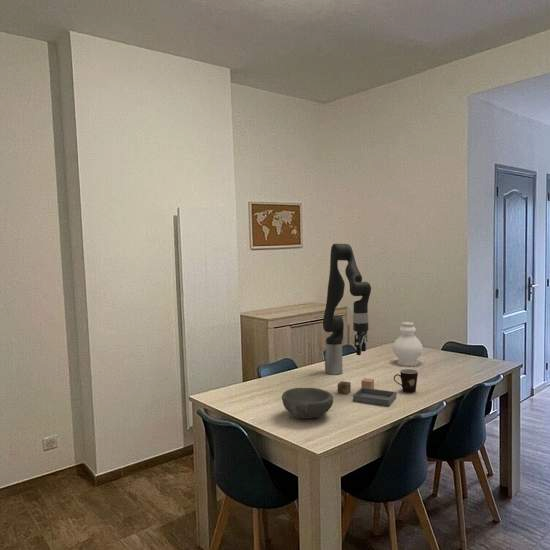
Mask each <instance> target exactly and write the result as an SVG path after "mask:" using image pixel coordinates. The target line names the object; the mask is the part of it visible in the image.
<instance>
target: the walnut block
mask: <svg viewBox="0 0 550 550" xmlns="http://www.w3.org/2000/svg"><path fill="white" fill-rule="evenodd" d="M351 388H352V387H351V382H349V381H339V382H338V383H337V394H338V395H346V396H347V395H349V394H350V393H351Z"/></svg>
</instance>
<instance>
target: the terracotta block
mask: <svg viewBox="0 0 550 550" xmlns="http://www.w3.org/2000/svg"><path fill="white" fill-rule="evenodd" d="M360 384H361V388H370V389H375V379H373V378H367V377H364V378H363V379H362V380H361V383H360ZM361 388H360V389H361Z"/></svg>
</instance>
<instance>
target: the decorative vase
mask: <svg viewBox="0 0 550 550" xmlns="http://www.w3.org/2000/svg"><path fill="white" fill-rule="evenodd" d="M401 325H402V326H400V328H399V331H400V333H401V335H399V336H398V337H397V338H396V340H395V341H394V343H393V345H392V351H393V353H394V354H395V356H396V357H397V358H398V359H399V360H398V361H397V362H396V363H397V364H398V365H400V366H406V367H413V366H417V365H419V362H418V361H417V360H418V359H419V358H420V357H421V356H422V355H423V351H424V348H423V344H422V342H421V341H420V339H419V338H418V337H417V336H416V335H414V333H415V332H416V331H417V330H416V327H415V326H414V325H415V323H414V322H413V321H402V322H401Z"/></svg>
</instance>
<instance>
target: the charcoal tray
mask: <svg viewBox="0 0 550 550" xmlns="http://www.w3.org/2000/svg"><path fill="white" fill-rule="evenodd" d="M396 399H397V392H396V391H392V390H384V389H376V388H374V389H370V388H360V389H358V390H357V391H356V392H355V393H354V394H352V402H355V403H362V404H367V405H368V404H370V405H375V406H381V407H382V406H383V407H390V406H391V405H392V404H393V402H394V401H395V400H396Z"/></svg>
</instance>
